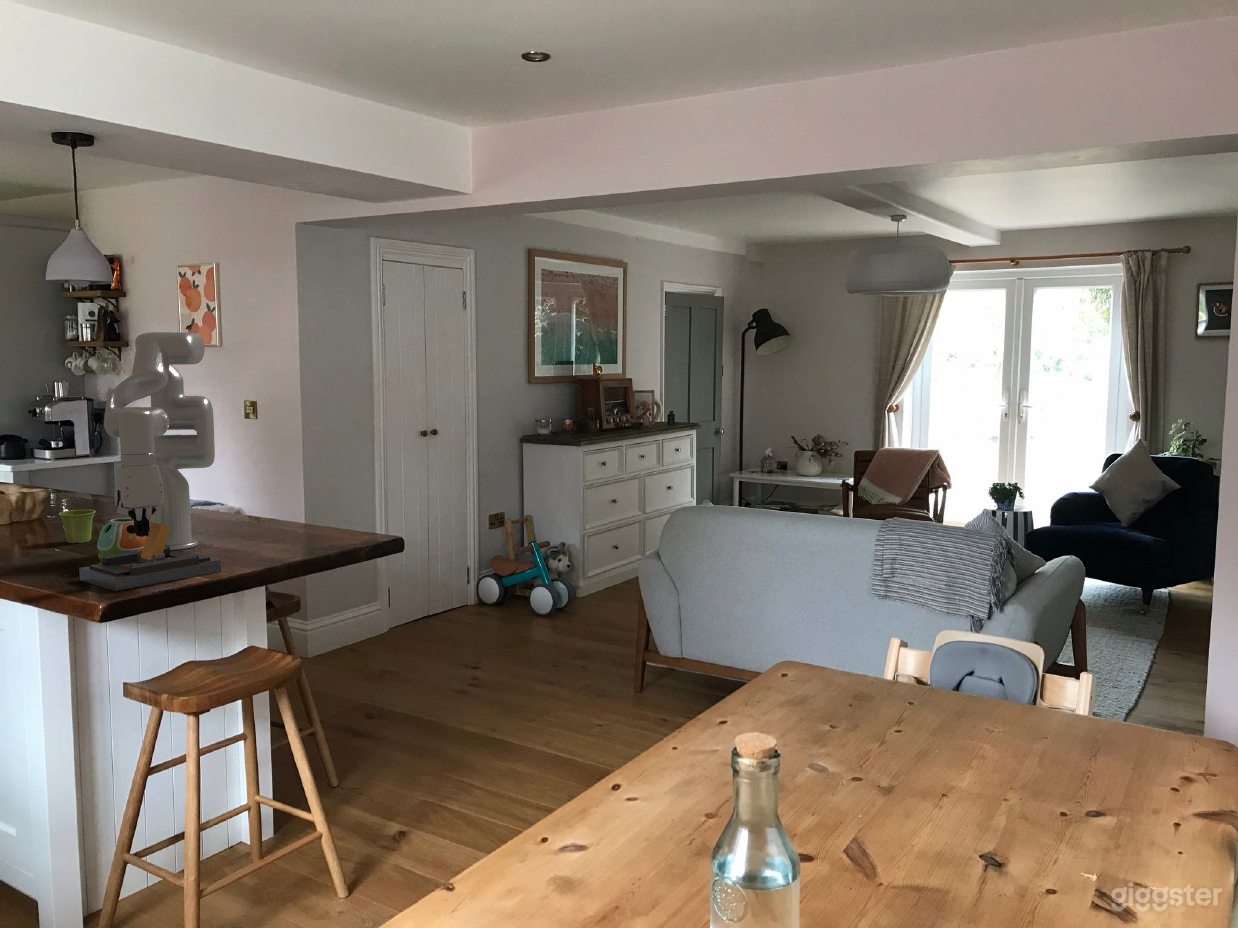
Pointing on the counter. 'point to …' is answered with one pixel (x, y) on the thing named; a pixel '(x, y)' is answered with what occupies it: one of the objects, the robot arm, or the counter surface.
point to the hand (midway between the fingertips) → (142, 535)
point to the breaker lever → (155, 540)
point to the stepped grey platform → (151, 566)
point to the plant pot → (77, 525)
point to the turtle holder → (119, 538)
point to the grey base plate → (121, 579)
